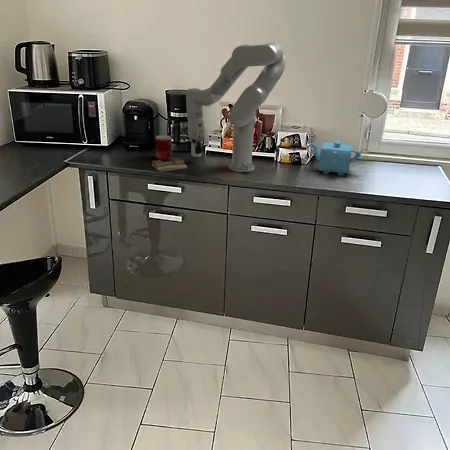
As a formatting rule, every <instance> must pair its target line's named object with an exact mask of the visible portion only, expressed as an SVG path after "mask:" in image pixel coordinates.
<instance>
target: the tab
mask: <svg viewBox="0 0 450 450" xmlns="http://www.w3.org/2000/svg"><path fill="white" fill-rule="evenodd" d="M190 143H191V142H190ZM197 143H198V141H197ZM190 146H191V147H190V155H191V156H192V157H195V158H197V157H202V153H203V152H202V153H200V154H196V153H195V146H196V143H195V142H194V143H191V145H190ZM202 146H203V144H202V145H201V148H202Z"/></svg>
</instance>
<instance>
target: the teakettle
mask: <svg viewBox="0 0 450 450" xmlns="http://www.w3.org/2000/svg"><path fill="white" fill-rule="evenodd" d="M308 144H309V145H310V146H312V148H313V151H314V156H315V159H317V161H319V163H318V171H320V172H321V171H322V174H323V175H329V173H331V172H332V173H337V176H340V177H344V175H345V174H348V175H349V171H350V166H351V165H350V164H351V163H353V162H354V161H356V160H357V159H360V157H361V156H362V153H361V152H360V150H356V149H353V145H352V144H347V143H344V144H343V143H342V142H341V140H340V139H337V140H336V141H334V142H325V141H324V142H323V143H322V146H321V148H320V152H319V148H318V146H317V144H315V143H314V142H308ZM352 153H354V154H355V156H353V157H352Z"/></svg>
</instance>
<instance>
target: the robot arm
mask: <svg viewBox="0 0 450 450" xmlns="http://www.w3.org/2000/svg"><path fill="white" fill-rule="evenodd" d="M286 63H287V60H286V54H285V51H284V49H283V48H282V46H281V45H280V44H279V43H276V42H269V43H266V44H255V45H249V44H242V45H238V46H236V47H235V48H234V49H233V50H232V53H231V57H230V58H229V59H228V60H227V61H226V62H225V64H223V66H222V67H221V68H220V74H219V76H218V77H217V78H216V80H215V81H213V84H212V85H211V86H210V87H208V88H205V89H202V90H201V89H200V88H194V87H193V88H188V89H186V91H185V101H186V103H185V104H186V105H185V106H186V119H187V134H188V135H187V136H188V137H189V139H190V143H194V142H195V143H196V146H195V153H196V154H200V153H203V151H202V150H203V149H202V148H201V145H202V146H203V142H204V140H205V139H206V134H205V132H206V131H205V124H204V119H203V118H204V113H203V107H210V106H212V105H214V104H216V103H217V102H219V101H220V100H221V99H222V98H223V97H224V96H225V94H227V93H228V91H229V90H230V89H231V87H232V86H233V85H234V84H235V83H236V81H237V80H238V79H239V78H240V76H242V74H243V73H244V72H245V71H246V70H247V69H248V67H249V68H250V67H264V68H263V69H262V70H261V72H259V74H258V76H257V78H255V81H254V82H252V84H251V85H248V86H247V87H246V88H245V89H243V91H242V92H241V94H240V96H239V97H238V98H237V100H236V101H235V103H234V104H233V106H232V107H231V109H230V110H229V113H228V121H229V122H230V124H231V125H232V126H233V132H232V154H231V155H232V157H231V160H232V161H231V163H230V164H228V169H229V170H230V171H232V172H237V173H238V172H239V173H248V172H252V171H254V170H255V167H256V166H255V165H254V164H253V161H252V160H253V159H252V158H253V144H254V129H255V122H256V112H257V110H258V109H259V107H260V106H261V105H262V104H263V103H265V101H266V100H267V98H268V97H269V95H270V93H271V92H272V91H273V90H274V88H275V86H277V85H276V84H277V83H278V82H279V80H280V79H281V77H282V76H283V74H284V72H285V68H286ZM197 142H198V143H197Z"/></svg>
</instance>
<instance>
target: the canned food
mask: <svg viewBox="0 0 450 450" xmlns="http://www.w3.org/2000/svg"><path fill="white" fill-rule="evenodd" d="M172 140H173V139H172V136H170V135H166V134H165V135H162V134H160V135H156V136H155V158H156V159H157V160H161V161H171V159H173V158H172V157H173V155H172V154H173V147H172V146H173V143H172V142H173V141H172Z"/></svg>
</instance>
